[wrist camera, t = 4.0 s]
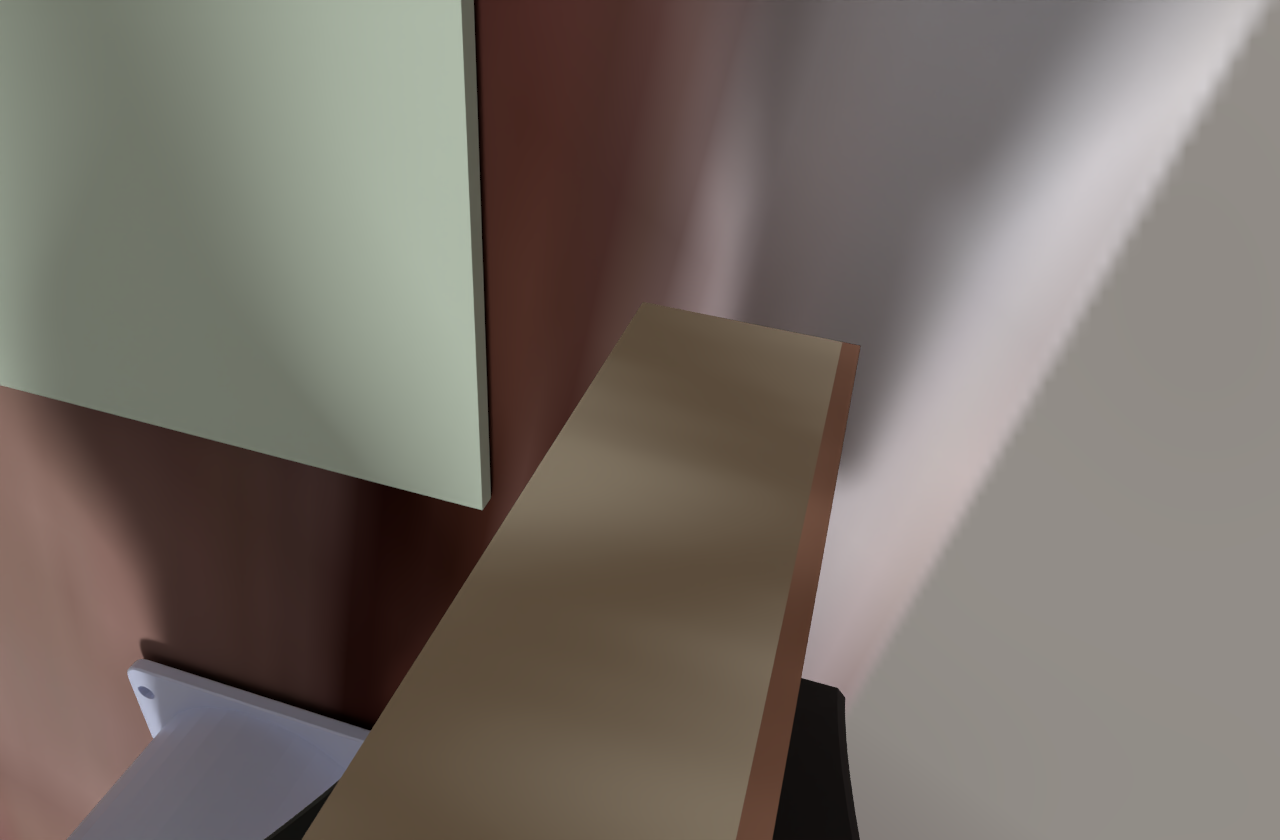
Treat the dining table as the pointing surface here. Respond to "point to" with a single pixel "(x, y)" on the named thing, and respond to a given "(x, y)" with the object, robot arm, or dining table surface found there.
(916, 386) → the dining table surface
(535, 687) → the tile
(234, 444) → the mat
